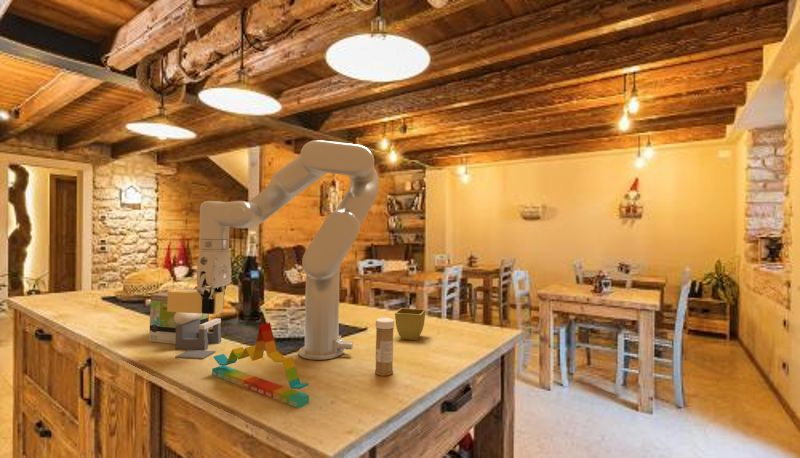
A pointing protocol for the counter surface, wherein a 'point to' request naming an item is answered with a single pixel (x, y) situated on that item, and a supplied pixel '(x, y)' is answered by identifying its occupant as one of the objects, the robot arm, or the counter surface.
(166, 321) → the tea box
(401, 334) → the flower pot
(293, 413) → the counter surface
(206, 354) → the mat
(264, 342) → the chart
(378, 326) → the sprinkles bottle
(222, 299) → the tan wooden block
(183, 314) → the dispenser
